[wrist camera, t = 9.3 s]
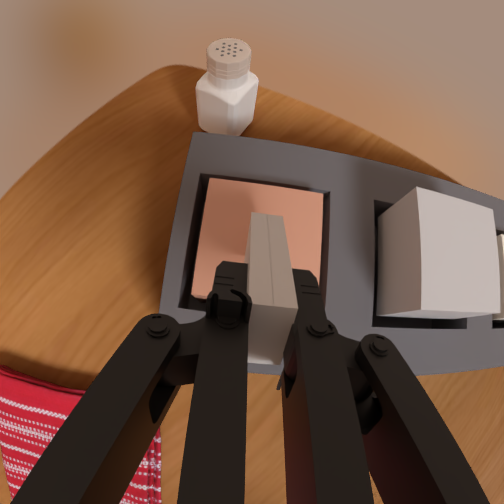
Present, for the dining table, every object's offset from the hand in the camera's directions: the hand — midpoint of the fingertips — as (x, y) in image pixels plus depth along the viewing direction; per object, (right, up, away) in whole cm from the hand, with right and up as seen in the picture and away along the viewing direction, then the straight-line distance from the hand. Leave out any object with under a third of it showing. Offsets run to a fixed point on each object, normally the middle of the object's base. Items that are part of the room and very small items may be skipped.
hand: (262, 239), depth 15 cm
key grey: (+11, -2, +4) cm, 12 cm away
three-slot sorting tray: (+10, -3, +10) cm, 15 cm away
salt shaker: (-3, +11, +13) cm, 17 cm away
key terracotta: (0, -1, +6) cm, 6 cm away
